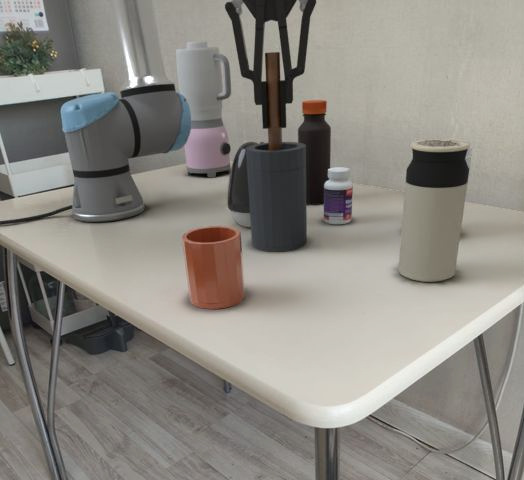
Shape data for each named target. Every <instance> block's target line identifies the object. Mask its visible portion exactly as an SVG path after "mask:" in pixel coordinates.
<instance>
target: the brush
mask: <svg viewBox="0 0 524 480" xmlns="http://www.w3.org/2000/svg"><path fill="white" fill-rule="evenodd" d="M280 52H281V51H275V52H274V51H273V52H264V63H265V64H264V65H265V68H264V69H265V81H266V91H267V117H268V129H267V139H268V141H267V143H268V145H269V150H282V142H283V128H281V100H280V80H281V53H280Z"/></svg>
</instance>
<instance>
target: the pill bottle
mask: <svg viewBox="0 0 524 480" xmlns="http://www.w3.org/2000/svg"><path fill="white" fill-rule="evenodd" d="M350 171H351V169H350V168H349V167H341V166H339V167H338V166H337V167H330V169H328V178H329V180H328V181H326V182H325V184H324V203H323V222H325V223H326V224H329V225H344V224H346V225H347V224H349V223H350V222H351V221H352V218H353V195H354V194H353V193H354V192H353V191H354V184H353V182H352V181H351V180H350V179H349V178H350Z"/></svg>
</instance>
